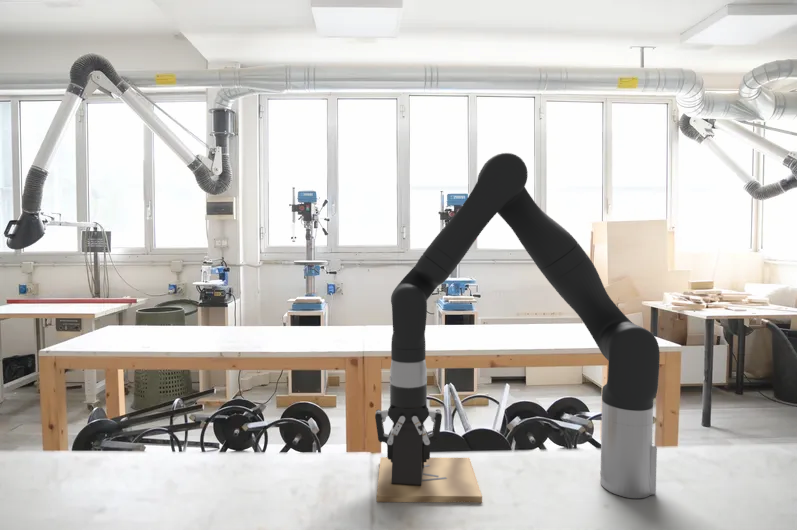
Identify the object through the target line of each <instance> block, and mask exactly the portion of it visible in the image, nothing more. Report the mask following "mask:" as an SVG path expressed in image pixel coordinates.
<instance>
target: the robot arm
mask: <svg viewBox="0 0 797 530" xmlns="http://www.w3.org/2000/svg"><path fill="white" fill-rule="evenodd" d="M527 182H528V169H527V165H526V163H525V162H524V160H523V159H522V158H521V157H520V156H519V155H517V154H514V153H512V152H501V153H498V154H496V155H494V156H492V157H490V158H489V159H487V161H486V162H485V163H484V164H483V166H482V168H481V169H480V172H479V173H478V176H477V181H476V183H475V185H474V187H473V189H472V191H471V192H470V194H469V195H468V197H467V198H466V200H465V201H464V202H463V204H462V205H461V207H460V208H459V209H458V211H456V213H455V214H454V215H453V216H452V218H451V219H450V220H449V221H448V223H447V224H446V225H445V226H444V227H443V228H442V230H440V231H439V233H438V234H437V235H436V237H434V239H433V240H432V241H431V243H430V244H429V245H428V246H427V248H426V249H425V251H424V252H423V253H422V255H420V257H419V259H418V261H417V262H416V263H415V265H414V267H412V268H411V270H410V271H409V272H408V273H407V274H406V275H405V276H404V277H403V279H401V281H399V283H398V284H397V286H396V287H395V288H394V289H393V292H392V293H391V296H390V303H391V313H392V314H391V317H392V336H391V355H390V356H391V357H390V358H391V361H390V362H391V363H390V369H389V370H390V371H389V373H390V375H389V384H390V386H389V391H390V393H389V394H390V395H389V399H390V401H389V404H390V405H389V408H388V409H386V410H381V409H376V410H375V415H374V417H375V424H376V426H375V427H376V433H377V439H378V442H379V443H385V444H386V445H387V451H386V452H387V453H386V454H387V455H386V456H387V458H388V460H391V462H392V457H393V436H397V435H398V433H399V431H400V429H401V427H402V425H403V423H404V422H408V421H413V423H414V425H415V426H416V428H417V430H418V432H419V434H420V435H421V434H422V431H420V429H418V426H420V425H421V423H420V420H423V462H427V460H429V458H431V457H430V456H431V444H432V443H438V442H439V441H440V434H441V428H442V427H441V426H442V425H441V424H442V418H443V414H442V411H441V410H440V409H435V410H430V409H429V408H428V406H427V403H428V400H427V399H428V397H427V393H428V391H427V386H428V385H427V384H428V383H427V381H428V375H427V374H428V373H427V372H428V370H427V363H426V362H427V361H426V360H427V359H426V336H425V335H426V334H425V333H426V325H427V314H428V299H429V298H430V297H431V296H432V294H433V293H434V291H435V290H436V289H437V287H439V286H440V285H442V284H444V283H445V281H446V280H447V279H448V278H449V277H450V275H452V273H453V271H454V270H455V269H456V268H457V267H458V265H459V264H460V263H461V261H462V260H463V259H464V257H465V256H466V254H468V252H469V250H470V249H471V247H472V245H473V244H474V243H475V241H476V240H477V239H478V237H479V235H481V233H482V232H483V230H484V229H485V228H486V226H487V225H488V224H489V223H490V221H491V220H492V219H493V218H494V217H495V216H496V215H497V214H498V215H499V216H500V217H501V218H502V219H503V220H504V222H505V223H506V224H507V225H508V226H509V227H510V229H511V230H512V232H513V233H514V234H515V236H516V238H517V239H518V241H519V243H521V245H522V246H523V248H524V250H525V251H526V252H527V254H528V255H529V257H530V258H531V260H532V261H533V263H534V264H535V266H536V267H537V268H538V269H539V271H540V272H541V273H542V274H543V276H544V277H545V279H546V280H547V281H548V283H549V284H550V285H551V286H552V288H554V290H555V291H556V292H557V293H558V295H559V296H560V297H561V298H562V299H563V300H564V302H565V303H566V304H568V306H569V307H570V308H571V309H572V310H573V311H574V312H575V313H576V314H577V315H578V317H579V319H581V321H582V323H583V324H584V326H585V327H586V329H587V330H588V332H589V333H590V335H591V338H592V339H593V340H594V343H595V344H596V346H597V347H598V349H599V351H600V352H601V354H602V356H603V357H604V358H605V359H606V360H607V361H608V369H607V381H606V384H604V385H603V387H602V388H601V389H602V390H601V427H600V431H601V434H600V435H601V436H600V437H601V439H600V443H601V444H600V470H599V471H600V472H599V473H600V475H599V477H600V480H599V481H600V484H601V486H602V488H604V489H605V490H607V491H608V492H610V493H612V494H614V495H617V496H620V497H623V498H626V499H627V498H628V499H645V498H648V497H649V496H651V495H656V494H657V492H656V491H657V467H658V466H657V461H658V460H657V458H658V455H657V454H658V447H657V446H656V445H655V444H654V443H653V431H654V430H653V427H654V423H653V420H654V418H653V417H654V415H653V414H654V399H655V397H656V396H657V392H658V388H659V387H658V386H659V377H660V375H659V374H660V372H659V371H660V361H661V360H660V358H661V357H660V346H659V343H658V341H657V338H656V336H655V335H654V334H653V333H652V332H651V331H649V330H648V329H646V328H644V327H642V326H640V325H637V324H635V323H634V322H632V321H631V320H630V319H629V317H627V316H626V315H625V314H624V312H623V311H622V310H621V309H620V308H619V307H618V305H616V304H615V302H614V300H612V299H611V297H610V296H609V294H608V292H607V291H606V288H605V286H604V284H603V281H602V280H601V279H602V278H601V276H600V275H599V272H598V271H597V269H596V267H595V264H594V263H593V261H592V260H591V258H590V256H589V255H588V254H587V253H586V251H585V250H584V249H583V247H582V246H581V245H580V243H579V241H577V240H576V238H574V237H573V235H572V234H571V233H570V232H568V231H567V230H566V229H565V228H564V227H563V226H562V225H560V223H558V222H557V221H555V220H554V219H553V218H552V217H550V216H549V215H548V214H547V213H545V212H544V211H543V210H542V209H541V208H540V206H538V204H537V203H536V201H535V200H534V199H533V197H532V195H531V194H530V193H529V192H528V190H527V188H526V184H527ZM387 417H389V420H390V421H392V423H393V424H392V426H391V428H390V431H389V432H388V433H385V429H384V428H385V427H384V422H386V419H387ZM429 417H430V419H431V422H432V423H433V425H432V426H433V427H432V433H430V434H428V431H427V430H426V426H425V424H424V423H425V422H426V420H427V419H428V418H429ZM394 423H396V425H395V427H394V428H393V425H394Z"/></svg>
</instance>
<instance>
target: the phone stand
mask: <svg viewBox="0 0 797 530" xmlns="http://www.w3.org/2000/svg"><path fill="white" fill-rule="evenodd" d="M420 423H421V425H420V426H418V429H420V431H422V434H421V435H420V434H419V432H418V430H417V428H416V426H415V425H414V423H413V421H408V422H404V423H403V425H402V427H401V429H400V431H399V433H398V435H397V436H393V457H392V481H391V484H401V485H417V486H421V485H422V478H423V470H424V462H423V424H424V423H423V420H420ZM393 424H394V425H393ZM393 424H392V426H393V428H394V427H395V425H396V423H393Z"/></svg>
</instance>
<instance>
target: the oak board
mask: <svg viewBox="0 0 797 530" xmlns="http://www.w3.org/2000/svg"><path fill="white" fill-rule="evenodd" d="M379 458H380V460H379V470H378V478H377V479H378V481H377V490H376V502H377V503H474V504H475V503H483V494H482V492H481V489H480V485H479V483H478V482H479V481H478V480H477V476H476V474H475V470H474V467H473V464H472V461H471V458H470V457H430V458H429V460H427V462H424V470H423V478H422V485H421V486H417V485H401V484H391V481H392V462H391V460H388V458H387V457H385V456H381V457H379Z"/></svg>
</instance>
